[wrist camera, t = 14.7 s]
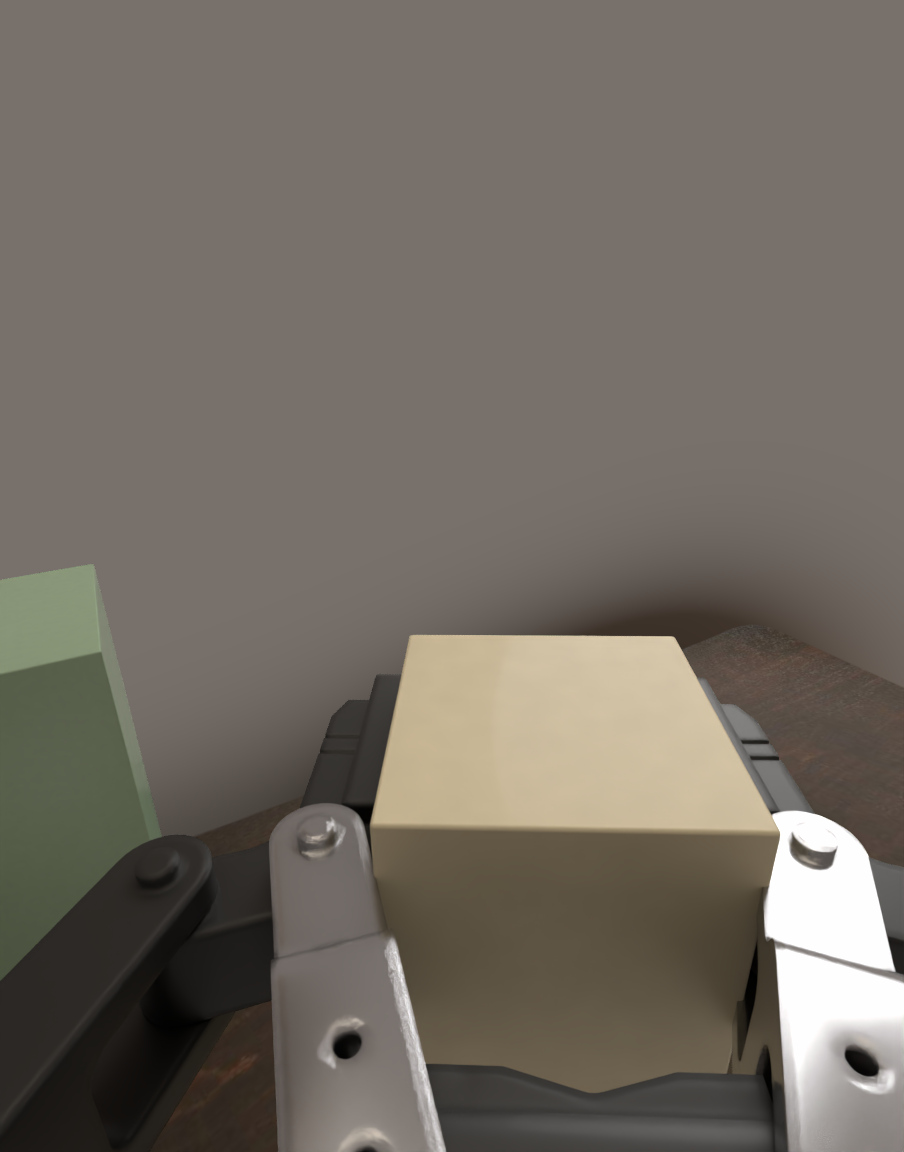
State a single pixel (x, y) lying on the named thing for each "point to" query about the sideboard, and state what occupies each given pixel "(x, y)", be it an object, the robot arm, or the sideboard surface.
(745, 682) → the sideboard surface
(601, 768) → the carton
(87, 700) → the stand
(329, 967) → the robot arm
